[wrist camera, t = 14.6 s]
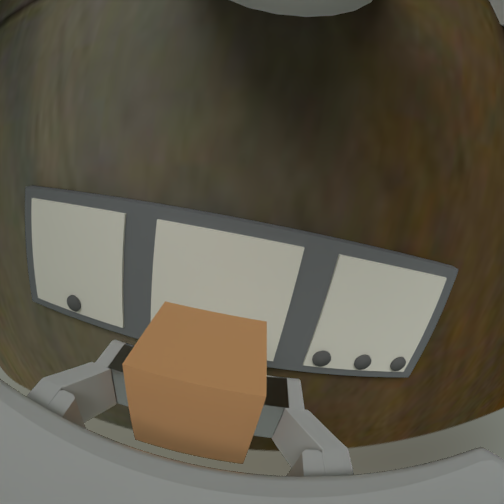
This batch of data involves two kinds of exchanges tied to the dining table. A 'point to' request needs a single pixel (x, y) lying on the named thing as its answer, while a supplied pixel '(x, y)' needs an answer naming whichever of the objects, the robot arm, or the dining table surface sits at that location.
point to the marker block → (198, 382)
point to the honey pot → (304, 6)
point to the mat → (234, 279)
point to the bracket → (498, 9)
